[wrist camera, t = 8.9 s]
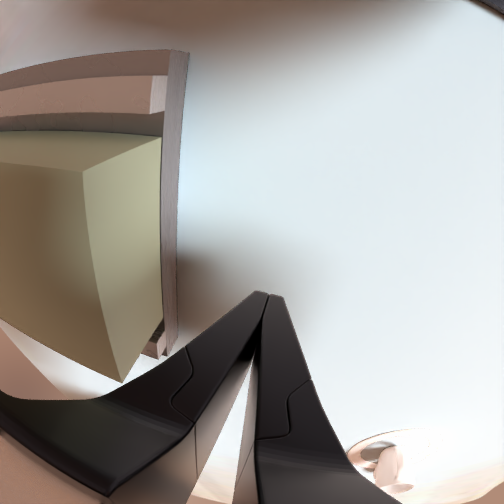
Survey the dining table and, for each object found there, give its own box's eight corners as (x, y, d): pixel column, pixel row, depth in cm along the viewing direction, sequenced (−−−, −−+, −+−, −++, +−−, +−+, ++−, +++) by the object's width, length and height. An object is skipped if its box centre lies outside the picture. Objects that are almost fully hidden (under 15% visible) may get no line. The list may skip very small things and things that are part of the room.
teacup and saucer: (404, 468, 22) (404, 503, 18) (330, 462, 23) (325, 501, 19) (459, 425, 17) (466, 469, 14) (375, 419, 18) (375, 471, 14)
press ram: (161, 137, 10) (82, 171, 6) (163, 317, 14) (122, 383, 10) (-22, 132, 11) (-77, 156, 8) (0, 254, 15) (-41, 288, 12)
